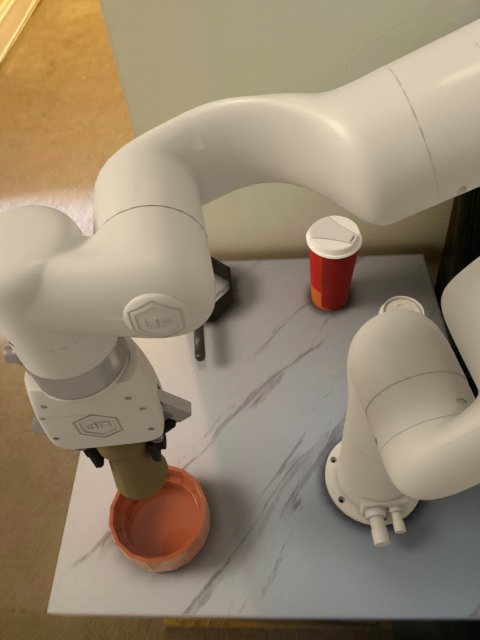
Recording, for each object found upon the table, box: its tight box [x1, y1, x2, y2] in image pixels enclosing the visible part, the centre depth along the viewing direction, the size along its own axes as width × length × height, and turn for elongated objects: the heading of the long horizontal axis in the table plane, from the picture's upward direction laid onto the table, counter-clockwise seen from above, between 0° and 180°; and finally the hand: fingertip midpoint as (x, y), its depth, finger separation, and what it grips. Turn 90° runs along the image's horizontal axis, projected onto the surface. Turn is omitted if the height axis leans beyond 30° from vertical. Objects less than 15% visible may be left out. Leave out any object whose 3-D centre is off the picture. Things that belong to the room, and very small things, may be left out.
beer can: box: [377, 295, 426, 316], centre depth 79 cm, size 6×6×15 cm
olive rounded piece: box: [96, 442, 169, 500], centre depth 58 cm, size 6×6×11 cm
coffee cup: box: [305, 215, 363, 312], centre depth 89 cm, size 8×8×15 cm
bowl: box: [108, 464, 211, 574], centre depth 72 cm, size 12×12×5 cm
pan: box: [193, 256, 235, 363], centre depth 93 cm, size 21×12×4 cm, turn 5°
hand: (129, 450), depth 58 cm, fingers closed on olive rounded piece, 5 cm apart
